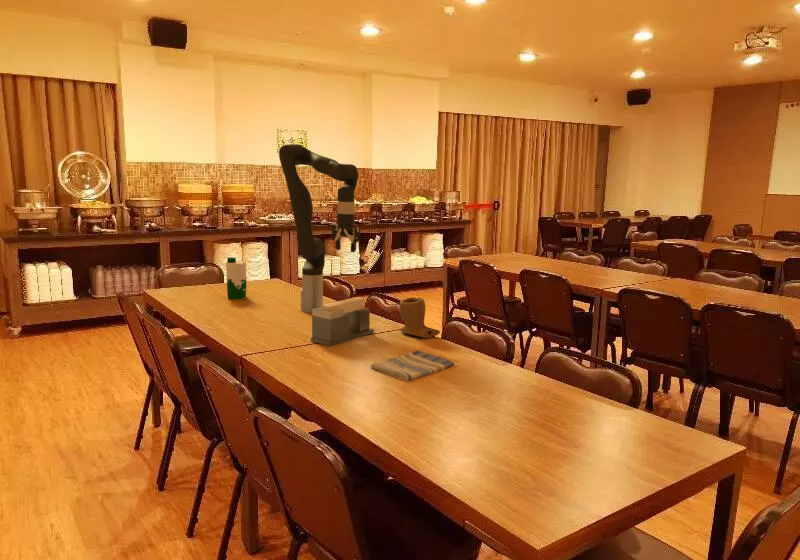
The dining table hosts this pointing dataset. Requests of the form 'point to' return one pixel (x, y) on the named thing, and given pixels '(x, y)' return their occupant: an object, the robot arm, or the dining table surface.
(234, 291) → the milk carton
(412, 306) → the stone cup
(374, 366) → the dish towel
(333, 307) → the rail
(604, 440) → the dining table surface
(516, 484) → the dining table surface
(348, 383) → the dining table surface
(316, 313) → the stand
